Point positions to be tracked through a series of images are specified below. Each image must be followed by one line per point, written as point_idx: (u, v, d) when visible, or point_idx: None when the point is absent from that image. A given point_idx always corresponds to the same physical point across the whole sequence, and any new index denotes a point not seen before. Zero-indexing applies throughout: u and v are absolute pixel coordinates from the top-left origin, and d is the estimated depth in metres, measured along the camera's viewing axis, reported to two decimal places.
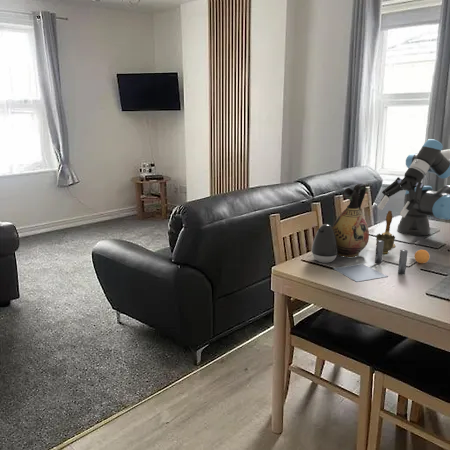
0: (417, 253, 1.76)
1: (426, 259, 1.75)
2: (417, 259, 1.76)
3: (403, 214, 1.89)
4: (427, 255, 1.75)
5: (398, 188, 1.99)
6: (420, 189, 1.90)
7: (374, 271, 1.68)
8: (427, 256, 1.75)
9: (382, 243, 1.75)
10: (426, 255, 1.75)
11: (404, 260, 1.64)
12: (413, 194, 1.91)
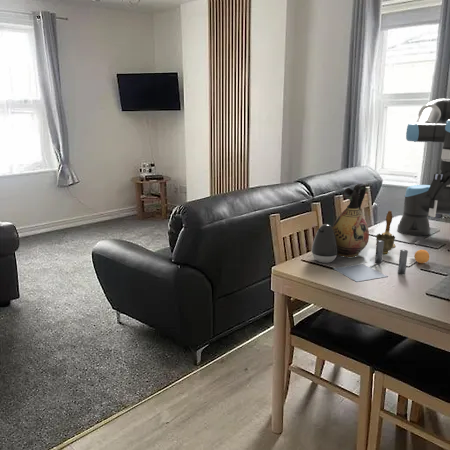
0: (417, 253, 1.76)
1: (426, 259, 1.75)
2: (417, 259, 1.76)
3: None
4: (427, 255, 1.75)
5: None
6: None
7: (374, 271, 1.68)
8: (427, 256, 1.75)
9: (382, 243, 1.75)
10: (426, 255, 1.75)
11: (404, 260, 1.64)
12: None
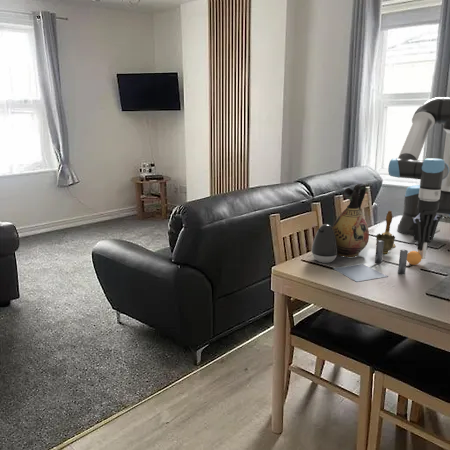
0: (408, 262, 1.76)
1: (420, 260, 1.74)
2: None
3: None
4: (416, 258, 1.73)
5: None
6: None
7: (374, 271, 1.68)
8: (417, 259, 1.73)
9: (382, 243, 1.75)
10: (416, 260, 1.73)
11: (404, 260, 1.64)
12: None
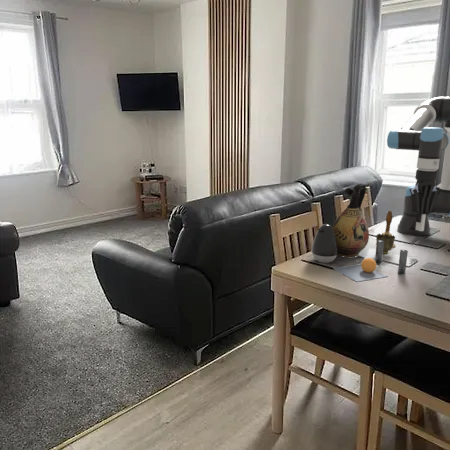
0: None
1: (374, 266, 1.64)
2: None
3: None
4: (372, 270, 1.65)
5: None
6: None
7: (374, 271, 1.68)
8: (373, 269, 1.65)
9: (382, 243, 1.75)
10: (373, 270, 1.65)
11: (404, 260, 1.64)
12: None
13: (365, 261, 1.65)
